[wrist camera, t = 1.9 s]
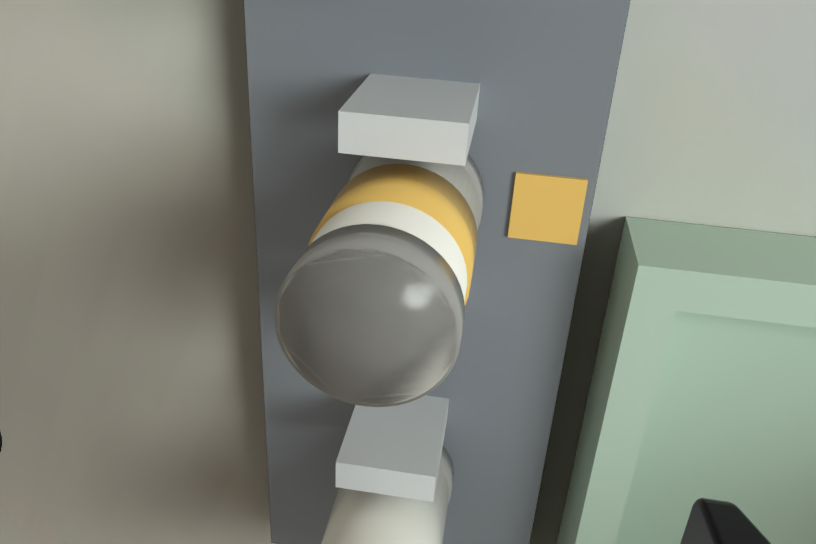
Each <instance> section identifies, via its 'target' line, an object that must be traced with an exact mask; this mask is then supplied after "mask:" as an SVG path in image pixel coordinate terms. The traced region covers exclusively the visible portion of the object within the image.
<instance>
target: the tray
mask: <svg viewBox="0 0 816 544" xmlns="http://www.w3.org/2000/svg"><path fill="white" fill-rule="evenodd" d="M700 498H708V499H715V500H721V501H728V502H731V503H733V504H735V505H736V506H737V507H738V508H739V509H740V510H741V511H742V512H743V513H744V514H745V515H746V516H747V517H748V518H749V520H750V521H751V522H752V523H753V524H754V525H755V526H756V527H757V528H758V530H759V531H760V532H761V533H762V534H763V535H764V536H765V537H766V538H767V539H768V541H769V542H770V543H771V544H816V237H809V236H800V235H791V234H781V233H772V232H763V231H753V230H744V229H735V228H726V227H716V226H707V225H698V224H688V223H679V222H670V221H661V220H651V219H642V218H633V217H626V218H625V223H624V228H623V232H622V237H621V242H620V247H619V251H618V256H617V261H616V266H615V270H614V275H613V280H612V285H611V289H610V294H609V299H608V304H607V308H606V313H605V318H604V322H603V327H602V332H601V337H600V341H599V346H598V351H597V356H596V360H595V365H594V370H593V375H592V379H591V384H590V389H589V394H588V398H587V403H586V408H585V412H584V417H583V422H582V427H581V431H580V436H579V441H578V446H577V450H576V455H575V460H574V465H573V469H572V474H571V479H570V484H569V488H568V493H567V498H566V502H565V507H564V512H563V517H562V521H561V526H560V531H559V536H558V540H557V544H680V543H681V540H682V537H683V534H684V531H685V528H686V525H687V521H688V518H689V515H690V512H691V509H692V506H693V504H694V503H695V501H696V500H697V499H700Z"/></svg>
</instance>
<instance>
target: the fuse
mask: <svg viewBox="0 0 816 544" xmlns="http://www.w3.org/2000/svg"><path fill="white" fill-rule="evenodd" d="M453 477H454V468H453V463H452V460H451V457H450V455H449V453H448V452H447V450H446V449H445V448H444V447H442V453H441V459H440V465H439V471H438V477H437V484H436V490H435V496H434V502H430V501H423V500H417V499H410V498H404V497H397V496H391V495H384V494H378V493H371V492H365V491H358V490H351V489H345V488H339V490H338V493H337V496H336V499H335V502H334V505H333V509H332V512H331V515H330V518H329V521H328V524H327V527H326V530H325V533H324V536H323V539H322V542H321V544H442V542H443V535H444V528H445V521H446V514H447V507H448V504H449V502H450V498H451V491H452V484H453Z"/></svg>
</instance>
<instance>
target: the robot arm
mask: <svg viewBox="0 0 816 544" xmlns="http://www.w3.org/2000/svg"><path fill="white" fill-rule="evenodd" d="M1 447H2V436H1V432H0V451H1ZM680 544H771V543H770V542H769V541H768V539H767V538H766V537H765V536H764V535H763V534H762V533H761V532H760V531H759V530H758V528H757V527H756V526H755V525H754V524H753V523H752V522H751V521H750V520H749V518H748V517H747V516H746V515H745V514H744V513H743V512H742V511H741V510H740V509H739V508H738V507H737V506H736V505H735V504H733V503H731V502H728V501H721V500H715V499H708V498H700V499H697V500H696V501H695V503H694V504H693V506H692V509H691V512H690V515H689V518H688V521H687V525H686V528H685V531H684V534H683V537H682V540H681V543H680Z"/></svg>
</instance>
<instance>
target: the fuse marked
mask: <svg viewBox="0 0 816 544" xmlns="http://www.w3.org/2000/svg"><path fill="white" fill-rule="evenodd" d="M483 203H484V188H483V182H482V178H481V175H480V172H479V170H478V168H477V166H476V164H475V162H474V161H473V159H472V158H471V157H470V155H469V154H468V156H467V160H466V164H465V166H461V165H452V164H442V163H432V162H422V161H413V160H403V159H393V158H383V157H374V156H364V155H363V156H362V158H361V160H360V161H359V163H358V164H357V166H356V167H355V169H354V171H353V173H352V174H351V176H350V179H349V182H348V183H347V184H346V185H345V186H344V187H343V188H342V190H341V191H340V192H339V193H338V195H337V197H336V198H335V200H334V201H333V203H332V205H331V206H330V208H329V209H328V211H327V212H326V214H325V216H324V217H323V219H322V220H321V222H320V224H319V225H318V227H317V228H316V230H315V232H314V233H313V235H312V237H311V239H310V242H309V244H308V247H307V248H306V249H305V250H304V251H303V253H302V254H301V255H300V256H299V258H298V259H297V261H296V263H295V264H294V266H293V267H292V269H291V271H290V272H289V274H288V275H287V277H286V278H285V280H284V282H283V284H282V285H281V287H280V289H279V292H278V295H277V298H276V302H275V307H274V325H275V331H276V335H277V339H278V342H279V344H280V346H281V349H282V351H283V353H284V354H285V356H286V358H287V360H288V361H289V362H290V364H291V365H292V366H293V368H294V369H295V370H296V371H297V372H298V373H299V374H300V375H301V376H302V377H303V378H304V379H305V380H306V381H307V382H309V383H310V384H311V385H313V386H314V387H316V388H317V389H318V390H320V391H322V392H324V393H325V394H327V395H329V396H331V397H334V398H336V399H338V400H341V401H344V402H347V403H351V404H355V405H360V406H367V407H390V406H398V405H402V404H406V403H409V402H412V401H414V400H417V399H419V398H421V397H423V396H425V395H427V394H428V393H430V392H431V391H433V390H434V389H435V388H437V387H438V386H439V385H440V384H441V383H442V382H443V381H444V380H445V378H446V377H447V376H448V374H449V373H450V372H451V370H452V368H453V366H454V364H455V362H456V359H457V356H458V353H459V348H460V342H461V336H462V330H463V324H464V318H465V305H466V302H467V299H468V296H469V291H470V285H471V279H472V273H473V267H474V261H475V254H476V248H477V231H478V228H479V225H480V220H481V215H482V209H483Z"/></svg>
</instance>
